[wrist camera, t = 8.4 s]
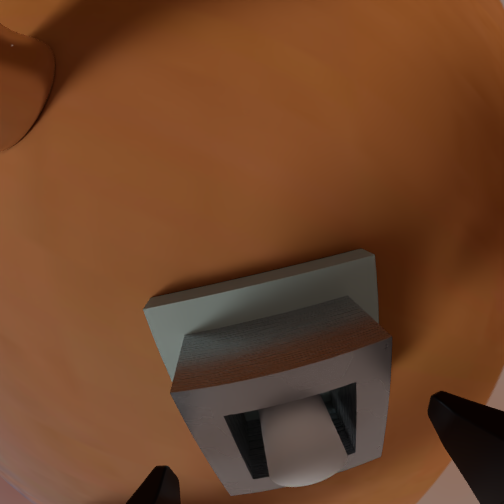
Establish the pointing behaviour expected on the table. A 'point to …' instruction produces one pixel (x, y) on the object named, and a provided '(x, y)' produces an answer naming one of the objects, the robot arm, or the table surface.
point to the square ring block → (284, 384)
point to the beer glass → (22, 83)
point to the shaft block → (264, 305)
